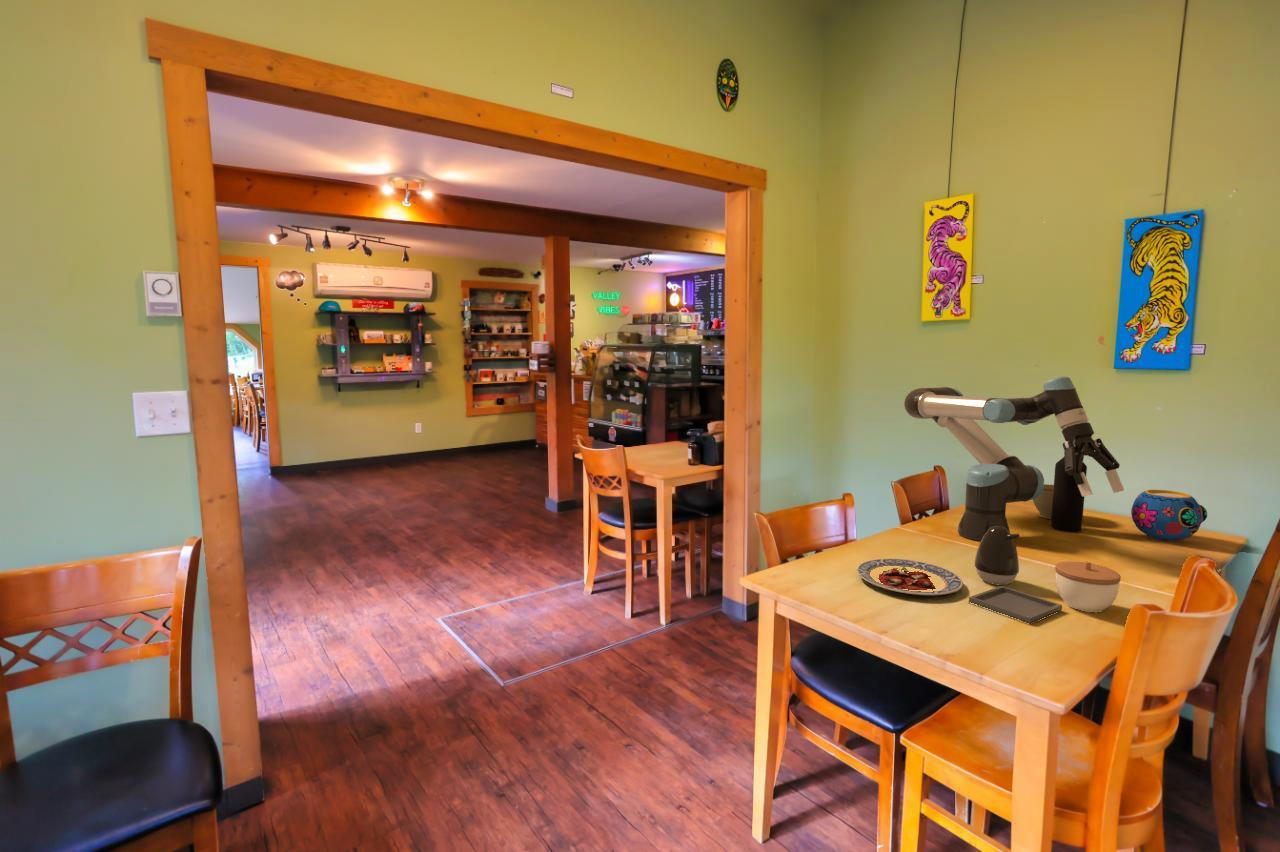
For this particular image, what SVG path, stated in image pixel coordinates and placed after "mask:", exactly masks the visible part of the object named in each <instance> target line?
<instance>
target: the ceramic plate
mask: <svg viewBox="0 0 1280 852" xmlns="http://www.w3.org/2000/svg"><path fill="white" fill-rule="evenodd" d="M883 566H900V567H903V568H902V569H901V571H899V570H900V569H899V570H897V569H898V568H893V569H891V570H888V571H883V573H882V574H879V578H878V579H879V580H880V582H881V583H883V584H881V583H879V582H876V581H875V580H874V579H873V578H872V577H871V576H870V572H871V570H873V569H875V568H878V567H883ZM905 567H911V568H915V569H920V570H924V571H927V572H930V573H932V574H935V575H937V576H939V577H940V578H941V579H942V580H943V581H944V583H945V587H944V588H943V589H942V590H940V591H933V592H921V591H909V590H927V589H932V590H933V589H936V588H935V586H934V585H933V583H932V582H931V581H930V579H929V578H928V577H931V576H928V575H927V574H926V573H923V572H919V571H917V572H916V571H914V572H909V571H908V570H907V569H906V568H905ZM902 570H904V572H902ZM856 572H857V574H858V576H859V577H860V578H862V579H863V580H864V581H866V582H868V583H870V584H871V585H873V586H876V587H879V588H882V589H885V590H887V591H888V590H889V591H892V592H898V593H900V594H901V593H903V594H909V595H918V596H940V595H941V596H942V595H948V594H949V595H950V594H952V593H953V594H954V593H955V592H958V591H959V590H961V589H962V588H963V585H964V582H963V580H962V578H961V577H960V576H959V575H958V574H956V573H954V572H952V571H950V570H949V569H947V568H944V567H942V566H938V565H935V564H931V563H927V562H923V561H918V560H911V559H904V558H903V559H901V558H880V559H878V558H877V559H871V560H868V561H864V562H862V563H861V564H859V565H858V566H857V568H856ZM907 572H909V573H907ZM903 589H908V590H903Z"/></svg>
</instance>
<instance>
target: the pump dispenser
mask: <svg viewBox="0 0 1280 852" xmlns="http://www.w3.org/2000/svg"><path fill="white" fill-rule="evenodd" d="M1019 538H1020V534H1019V533H1011V531H1010V532H1009V531H1008V530H1007V529H1006V528H1005V527H1002V526H993V527H991V528H989V529H988V530H987V532H986V533H985V535H984V536H983V538H982V540H981V541H979V545H978V547H977V549H976V554H975V558H974V567H975V570H976V573H977V575H978V577H979V578H980V579H982V581H984V582H986V583H988V582H989V583H988V584H990V583H993V584H992V585H995V584H999V585H998V586H1006V585H1009V584H1011V583H1012V582H1014V581H1015V579H1016V577H1017V575H1018V574H1019V572H1020V564H1019V563H1020V562H1019V561H1020V560H1019V556H1018V555H1019V554H1018V550H1017V546H1016V543H1015V542H1016V541H1015V539H1019ZM1005 584H1006V585H1005Z"/></svg>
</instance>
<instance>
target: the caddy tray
mask: <svg viewBox="0 0 1280 852" xmlns="http://www.w3.org/2000/svg"><path fill="white" fill-rule="evenodd" d="M969 602H971V603H974V604H977V605H980V606H982V607H985V608H988V609H991V610H993V611H996V612H999V613H1002V614H1005V615H1008V616H1010V617H1013V618H1016V619H1019V620H1021V621H1023V622H1026V623H1029V624H1030V625H1032V624H1031V623H1033V622H1035V623H1037V622H1039V621H1038V620H1040V619H1042V618H1044V617H1047V616H1049V615H1051V614H1054V613H1056V612H1058V613H1060V612H1059V611H1061V610H1063V604H1060V603H1057V602H1054V601H1051V600H1047V599H1044V598H1042V597H1038V596H1035V595H1032V594H1029V593H1026V592H1023V591H1019V590H1017V589H1014V588H1011V587H1006V586H1005V585H998V586H997V587H994V588H991V589H989V590H986V591H982V592H980V593H976V594H974V595H971V596H969V597H968V603H969ZM1061 612H1062V611H1061ZM1056 614H1057V613H1056ZM1054 615H1055V614H1054ZM1051 616H1052V615H1051ZM1049 617H1050V616H1049ZM1047 618H1048V617H1047ZM1044 619H1045V618H1044ZM1042 620H1043V619H1042ZM1036 621H1037V622H1036ZM1040 621H1041V620H1040ZM1023 622H1022V623H1023ZM1026 623H1025V624H1026ZM1029 624H1028V625H1029ZM1033 624H1034V623H1033Z"/></svg>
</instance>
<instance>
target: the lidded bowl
mask: <svg viewBox="0 0 1280 852" xmlns="http://www.w3.org/2000/svg"><path fill="white" fill-rule="evenodd" d="M1054 570H1055V577H1054V579H1055V586H1056V589H1057V593H1058V595H1059V596H1060V598H1061V599H1062V601H1064V602H1065V604H1066V603H1067V604H1066V606H1068V605H1069V606H1070V607H1069V606H1068V607H1069V608H1071V607H1072V608H1071V609H1073V608H1075V609H1074V610H1076V609H1078V610H1077V611H1079V610H1081V611H1080V612H1083V611H1085V613H1090V612H1095V613H1094V614H1098V613H1097V612H1099V613H1102V612H1103V611H1104V610H1105V609H1107V608H1109V607H1110V606H1111V605H1113V603H1114V602H1115V600H1116V599H1117V596H1118V593H1119V591H1120V590H1119V589H1120V583H1121V580H1122V579H1121V578H1122V576H1121V574H1120V573H1119V572H1118V571H1116V570H1115V569H1111V568H1109V567H1106V566H1103V565H1100V564H1096V563H1092V562H1091V561H1085V562H1084V561H1083V562H1082V561H1075V560H1074V561H1061V562H1058V563H1056V564H1055V569H1054Z"/></svg>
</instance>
